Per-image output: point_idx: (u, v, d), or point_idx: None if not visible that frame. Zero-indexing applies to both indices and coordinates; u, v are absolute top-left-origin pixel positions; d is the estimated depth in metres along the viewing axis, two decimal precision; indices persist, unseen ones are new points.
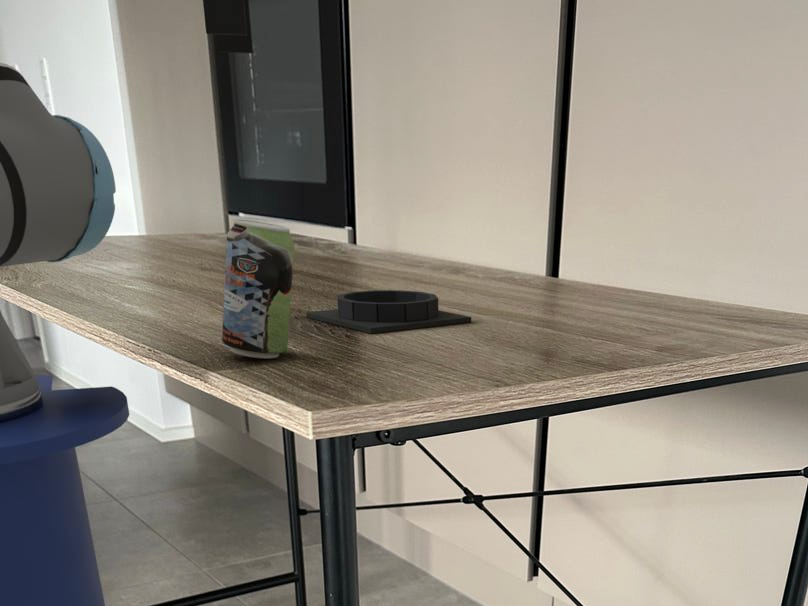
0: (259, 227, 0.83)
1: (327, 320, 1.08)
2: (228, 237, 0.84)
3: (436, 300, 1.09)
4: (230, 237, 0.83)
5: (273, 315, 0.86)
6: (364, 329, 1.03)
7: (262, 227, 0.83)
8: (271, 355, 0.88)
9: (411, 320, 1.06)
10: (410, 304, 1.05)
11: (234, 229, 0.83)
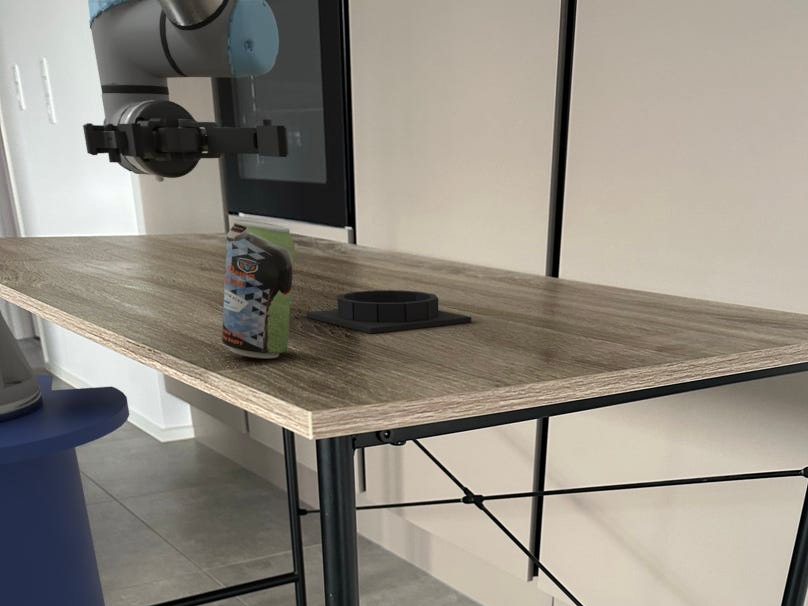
0: (259, 227, 0.83)
1: (327, 320, 1.08)
2: (228, 237, 0.84)
3: (436, 300, 1.09)
4: (230, 237, 0.83)
5: (273, 315, 0.86)
6: (364, 329, 1.03)
7: (262, 227, 0.83)
8: (271, 355, 0.88)
9: (411, 320, 1.06)
10: (410, 304, 1.05)
11: (234, 229, 0.83)
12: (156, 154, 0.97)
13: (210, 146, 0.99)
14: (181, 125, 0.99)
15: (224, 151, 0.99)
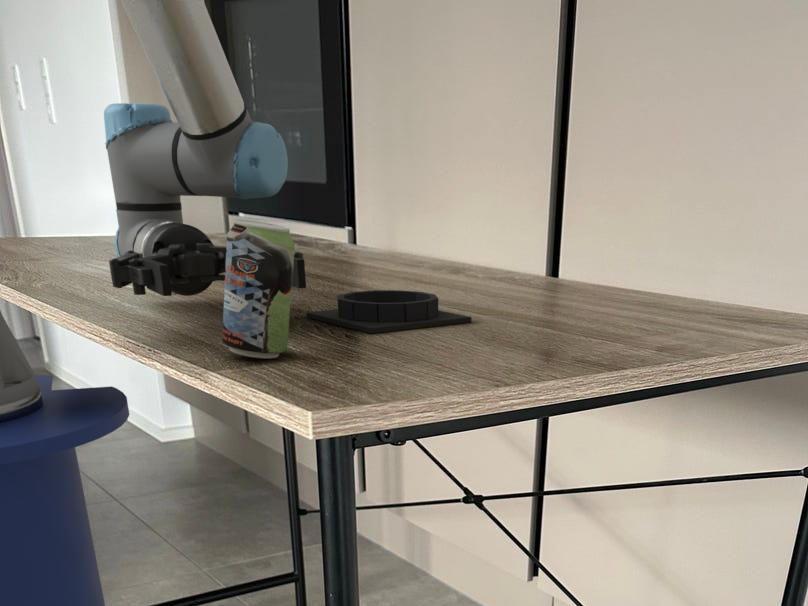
0: (259, 227, 0.83)
1: (327, 320, 1.08)
2: (228, 237, 0.84)
3: (436, 300, 1.09)
4: (230, 237, 0.83)
5: (273, 315, 0.86)
6: (364, 329, 1.03)
7: (262, 227, 0.83)
8: (271, 355, 0.88)
9: (411, 320, 1.06)
10: (410, 304, 1.05)
11: (234, 229, 0.83)
12: (176, 279, 1.00)
13: None
14: (199, 249, 1.02)
15: None
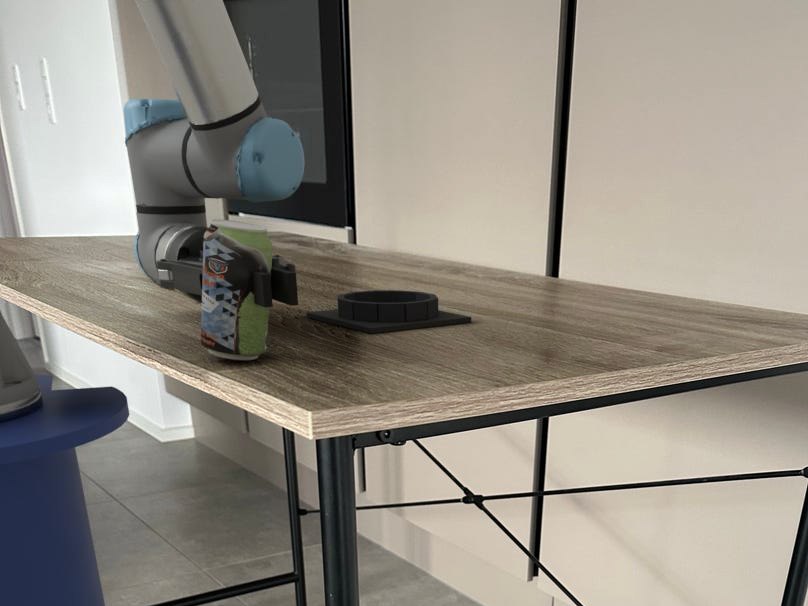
0: (229, 227, 0.81)
1: (327, 320, 1.08)
2: None
3: (436, 300, 1.09)
4: (204, 237, 0.83)
5: (244, 317, 0.85)
6: (364, 329, 1.03)
7: (232, 227, 0.81)
8: (246, 357, 0.87)
9: (411, 320, 1.06)
10: (410, 304, 1.05)
11: (208, 229, 0.83)
12: None
13: None
14: None
15: None
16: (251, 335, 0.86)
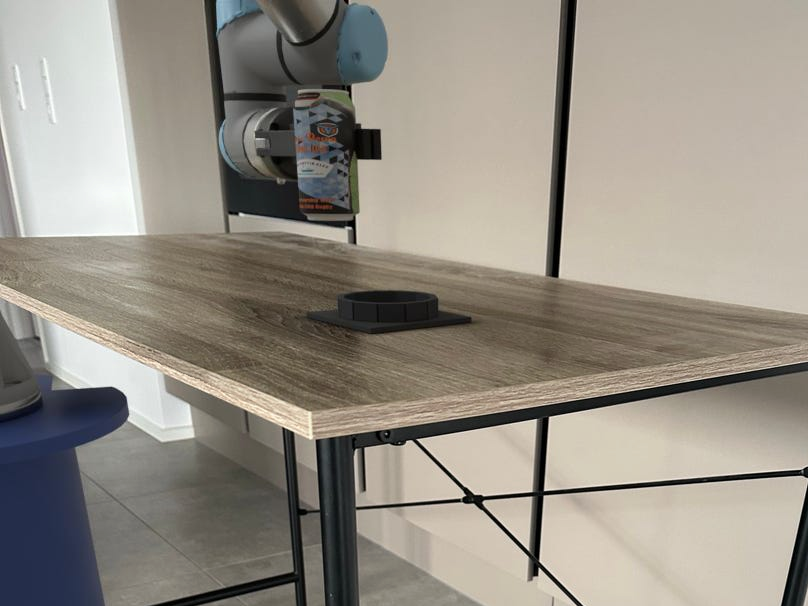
0: (332, 91, 0.89)
1: (327, 320, 1.08)
2: (301, 106, 0.90)
3: (436, 300, 1.09)
4: (305, 105, 0.89)
5: (353, 175, 0.93)
6: (364, 329, 1.03)
7: (334, 90, 0.89)
8: (351, 217, 0.96)
9: (411, 320, 1.06)
10: (410, 304, 1.05)
11: (306, 97, 0.89)
12: None
13: None
14: None
15: None
16: (357, 193, 0.95)
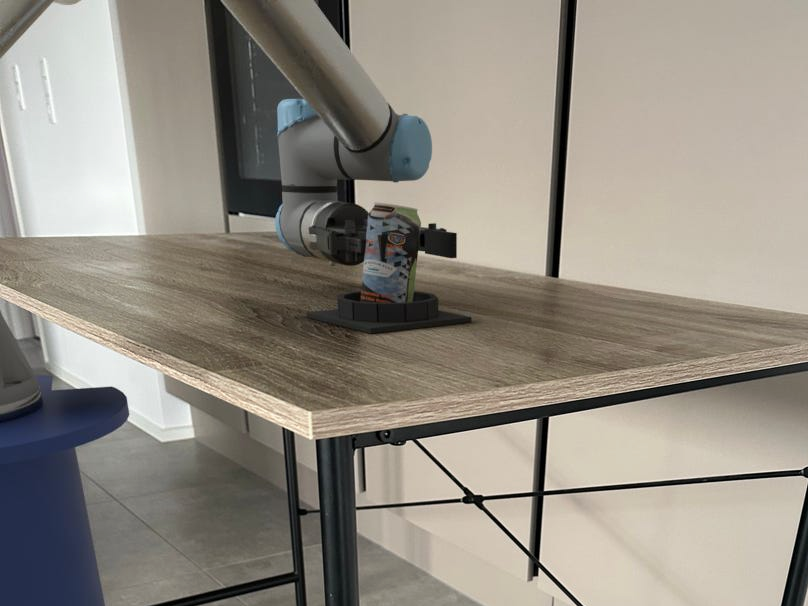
0: (405, 207, 1.04)
1: (327, 320, 1.08)
2: (376, 216, 1.04)
3: (436, 300, 1.09)
4: (380, 216, 1.04)
5: (411, 278, 1.08)
6: (364, 329, 1.03)
7: (407, 207, 1.04)
8: None
9: (411, 320, 1.06)
10: (410, 304, 1.05)
11: (382, 210, 1.04)
12: None
13: None
14: (365, 225, 1.19)
15: None
16: (412, 293, 1.09)
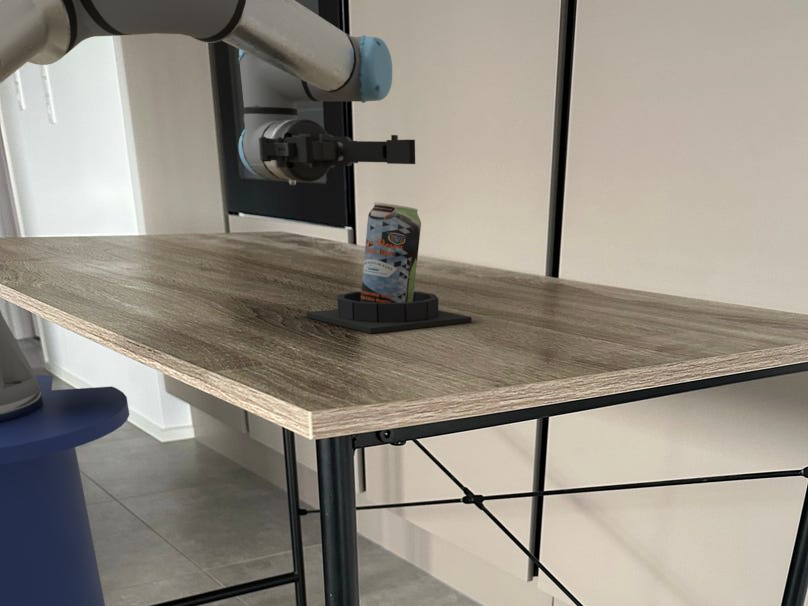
0: (405, 207, 1.04)
1: (327, 320, 1.08)
2: (376, 216, 1.04)
3: (436, 300, 1.09)
4: (380, 216, 1.04)
5: (411, 278, 1.08)
6: (364, 329, 1.03)
7: (407, 207, 1.04)
8: None
9: (411, 320, 1.06)
10: (410, 304, 1.05)
11: (382, 210, 1.04)
12: None
13: (345, 156, 1.24)
14: (322, 139, 1.24)
15: (357, 160, 1.24)
16: (412, 293, 1.09)
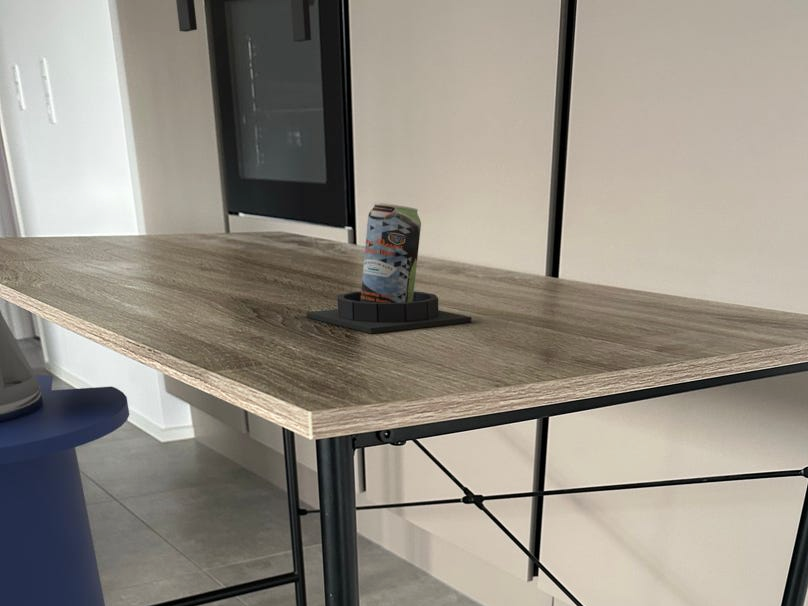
0: (405, 207, 1.04)
1: (327, 320, 1.08)
2: (376, 216, 1.04)
3: (436, 300, 1.09)
4: (380, 216, 1.04)
5: (411, 278, 1.08)
6: (364, 329, 1.03)
7: (407, 207, 1.04)
8: None
9: (411, 320, 1.06)
10: (410, 304, 1.05)
11: (382, 210, 1.04)
12: None
13: None
14: None
15: None
16: (412, 293, 1.09)
